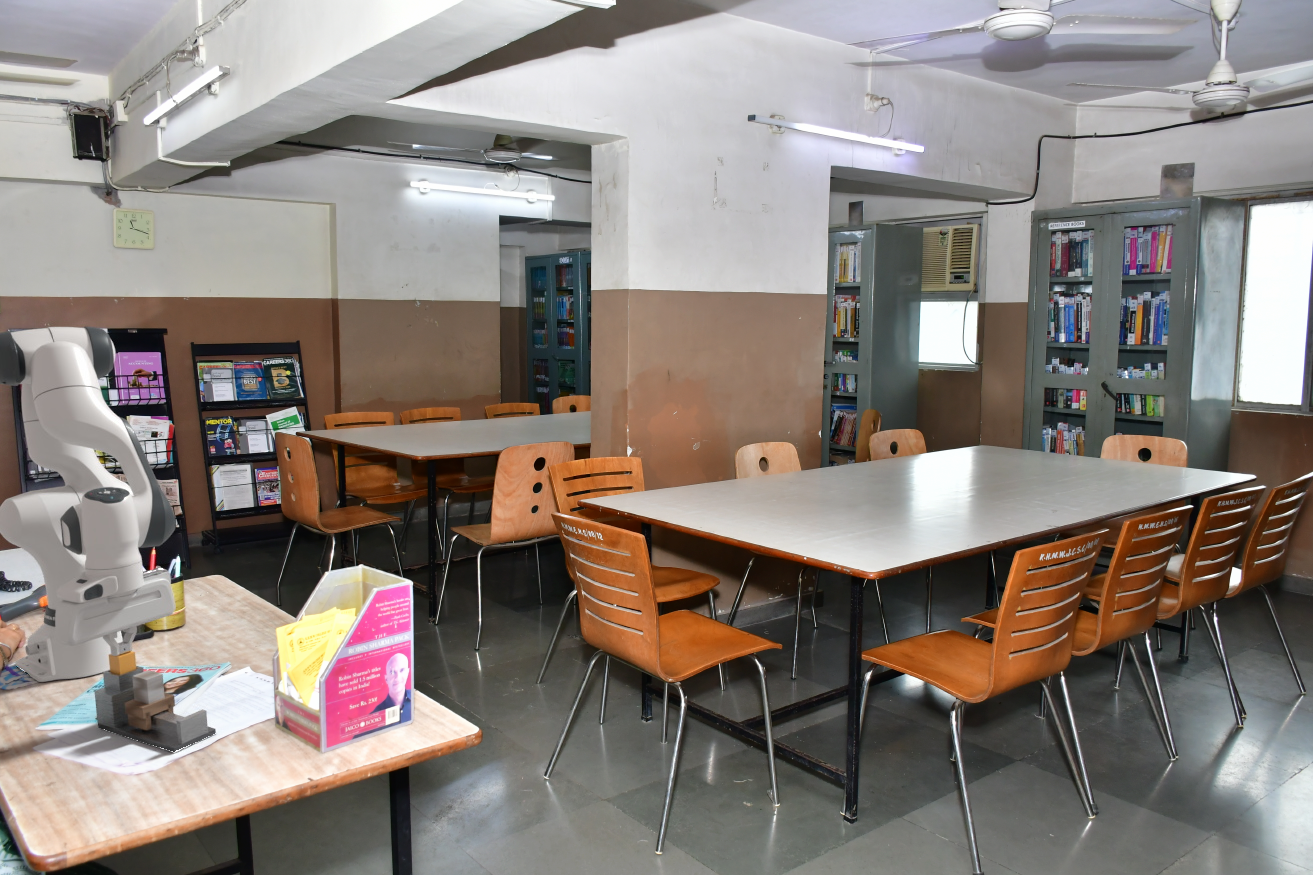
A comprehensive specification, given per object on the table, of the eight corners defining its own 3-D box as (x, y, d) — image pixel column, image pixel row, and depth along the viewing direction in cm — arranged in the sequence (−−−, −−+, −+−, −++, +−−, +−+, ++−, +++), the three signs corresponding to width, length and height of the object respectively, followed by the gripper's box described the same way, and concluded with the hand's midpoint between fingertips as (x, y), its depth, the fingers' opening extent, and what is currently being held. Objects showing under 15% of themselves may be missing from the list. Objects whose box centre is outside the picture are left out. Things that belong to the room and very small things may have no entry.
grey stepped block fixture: (97, 727, 168) (92, 674, 166) (140, 710, 175) (135, 659, 173) (174, 753, 158) (169, 696, 156) (215, 733, 165) (211, 680, 163)
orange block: (111, 681, 168) (108, 654, 167) (126, 675, 171) (124, 649, 170) (121, 684, 167) (118, 657, 166) (137, 678, 169) (134, 651, 169)
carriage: (126, 725, 165) (122, 678, 164) (158, 712, 170) (154, 666, 169) (144, 731, 163) (140, 683, 161) (176, 717, 168) (172, 671, 167)
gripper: (158, 562, 177) (164, 632, 179) (46, 591, 159) (54, 669, 161) (179, 566, 174) (185, 637, 176) (68, 596, 156) (76, 675, 158)
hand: (121, 653), depth 168 cm, fingers closed, pressing on orange block
